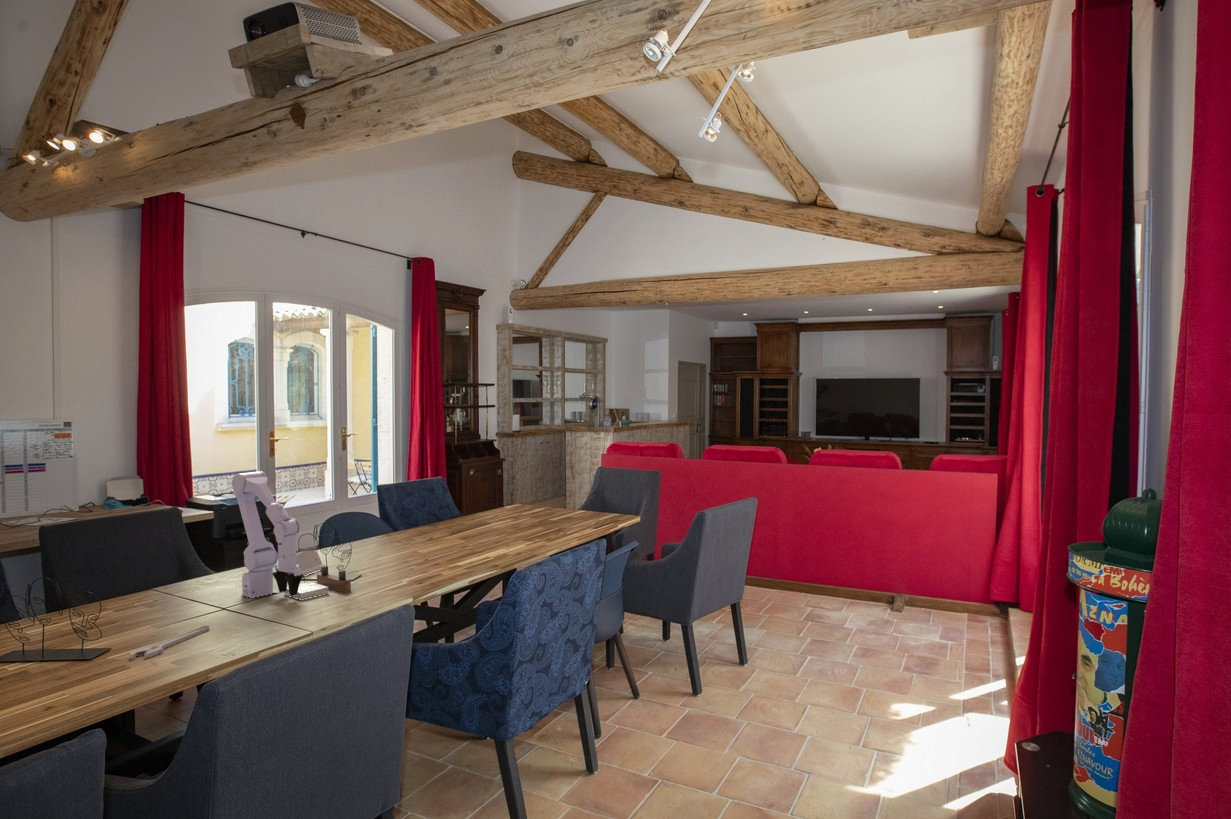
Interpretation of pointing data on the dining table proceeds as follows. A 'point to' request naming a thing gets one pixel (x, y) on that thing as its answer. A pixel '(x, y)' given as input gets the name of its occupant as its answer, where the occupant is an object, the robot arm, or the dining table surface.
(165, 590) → the dining table surface
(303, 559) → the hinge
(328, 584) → the stop rail
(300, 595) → the plate
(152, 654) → the adjustable wrench
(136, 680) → the dining table surface
